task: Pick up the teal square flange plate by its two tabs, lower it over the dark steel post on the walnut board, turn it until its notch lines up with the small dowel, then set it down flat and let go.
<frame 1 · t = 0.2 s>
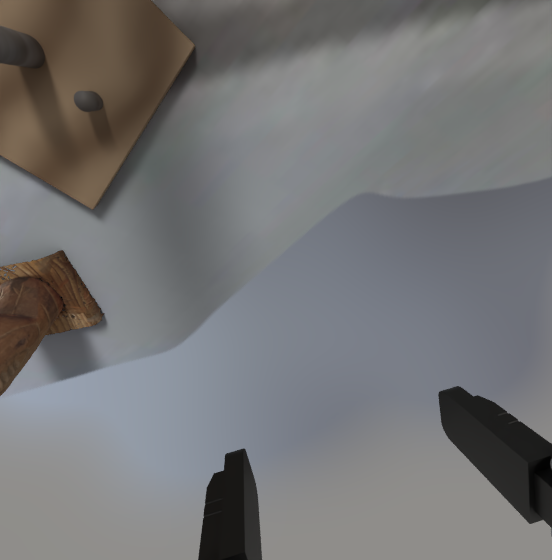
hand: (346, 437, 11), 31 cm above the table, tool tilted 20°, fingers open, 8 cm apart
bird sculpture: (43, 291, 39), on the table
post board: (37, 53, 26), on the table
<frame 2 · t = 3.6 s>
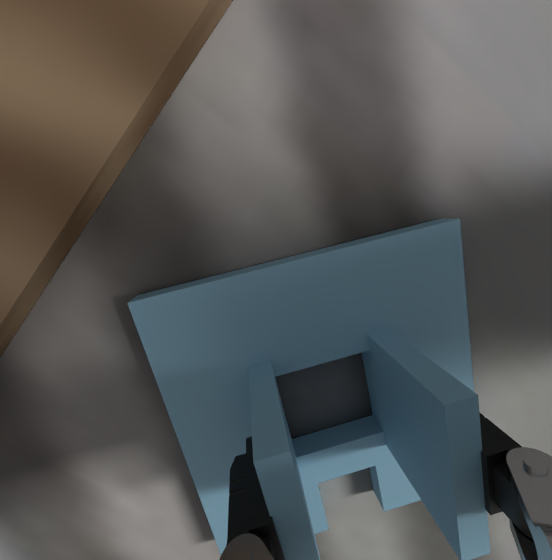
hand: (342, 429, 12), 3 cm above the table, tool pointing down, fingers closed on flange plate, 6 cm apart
flange plate: (324, 390, 15), on the table, touching gripper
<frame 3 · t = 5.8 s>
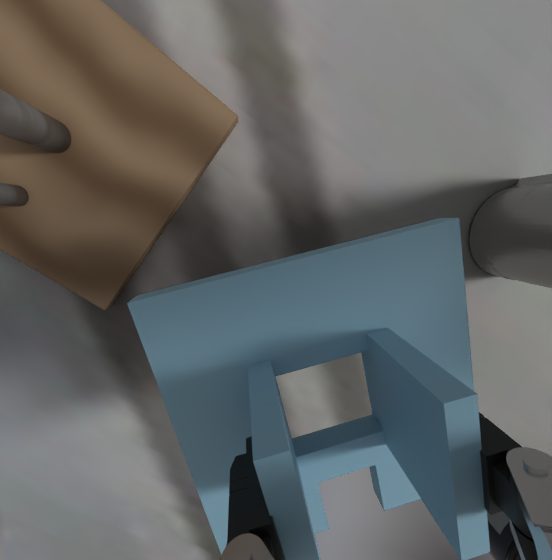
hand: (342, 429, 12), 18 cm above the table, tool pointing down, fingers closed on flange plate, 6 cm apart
supplement container: (487, 484, 38), on the table
flange plate: (324, 390, 15), point 15 cm above the table, touching gripper
post board: (65, 141, 24), on the table
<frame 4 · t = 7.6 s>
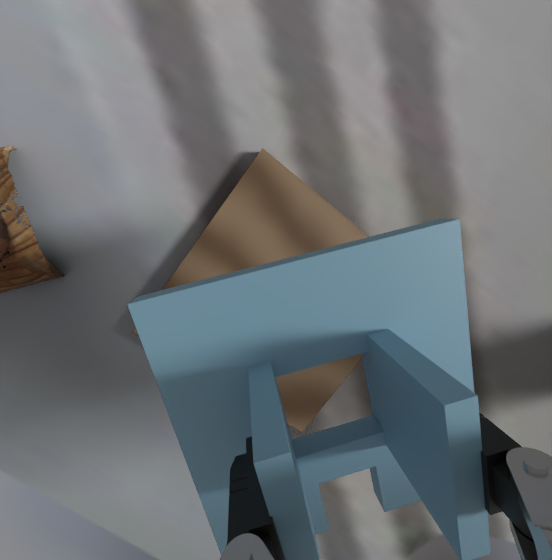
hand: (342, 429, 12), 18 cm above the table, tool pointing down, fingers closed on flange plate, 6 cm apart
flange plate: (324, 391, 15), point 15 cm above the table, touching gripper
post board: (282, 301, 29), on the table
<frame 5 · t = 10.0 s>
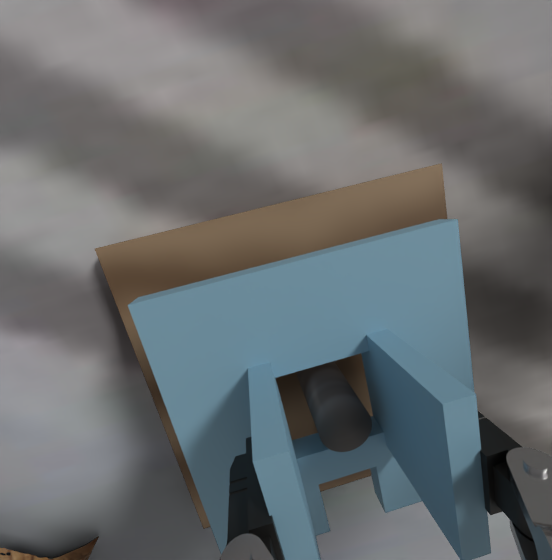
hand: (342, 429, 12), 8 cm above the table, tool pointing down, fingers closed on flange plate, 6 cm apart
flange plate: (324, 391, 15), point 5 cm above the table, touching gripper
post board: (306, 351, 20), on the table
when the fingers open (5 cm above the table, at t = 11.9 s): flange plate stays where it is, resting on post board.
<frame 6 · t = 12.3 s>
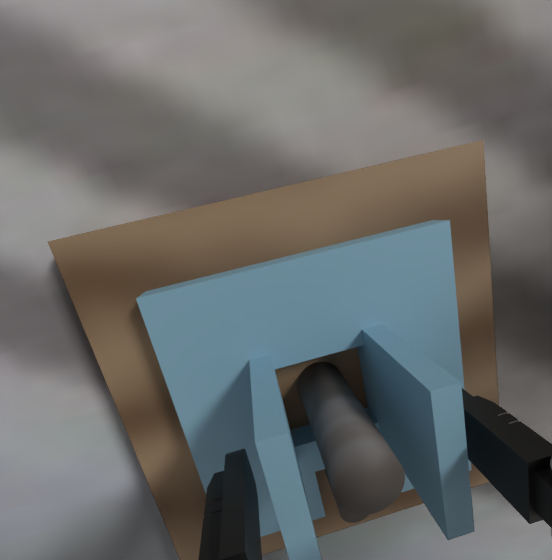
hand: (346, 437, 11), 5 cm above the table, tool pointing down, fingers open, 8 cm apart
flange plate: (321, 383, 15), point 1 cm above the table, touching post board
post board: (313, 368, 17), on the table
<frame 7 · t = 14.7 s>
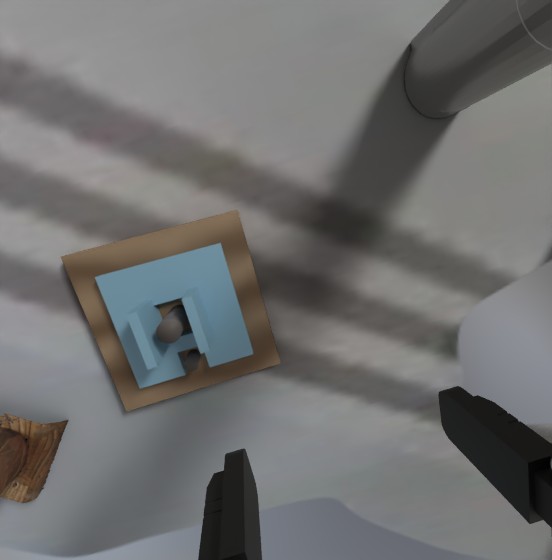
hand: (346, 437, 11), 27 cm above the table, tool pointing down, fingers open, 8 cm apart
bird sculpture: (12, 440, 37), on the table
flange plate: (180, 314, 35), point 1 cm above the table, touching post board
post board: (182, 310, 36), on the table
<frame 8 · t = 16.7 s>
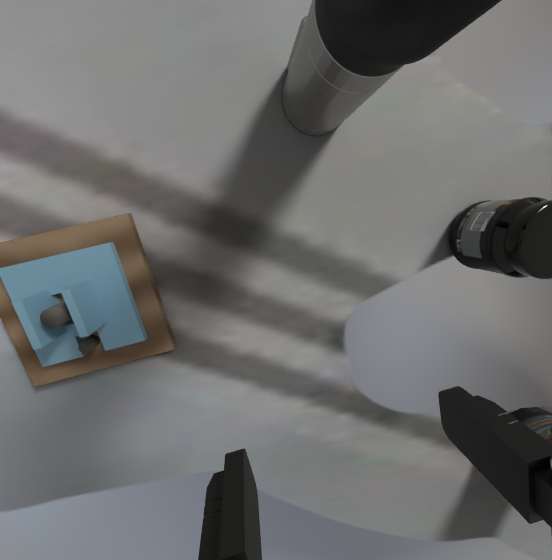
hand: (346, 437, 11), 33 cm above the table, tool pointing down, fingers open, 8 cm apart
supplement container: (475, 234, 47), on the table
flange plate: (79, 304, 40), point 1 cm above the table, touching post board
beer stein: (523, 446, 57), on the table
post board: (84, 300, 41), on the table
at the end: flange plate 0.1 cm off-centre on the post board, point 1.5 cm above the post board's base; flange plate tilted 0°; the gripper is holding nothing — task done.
